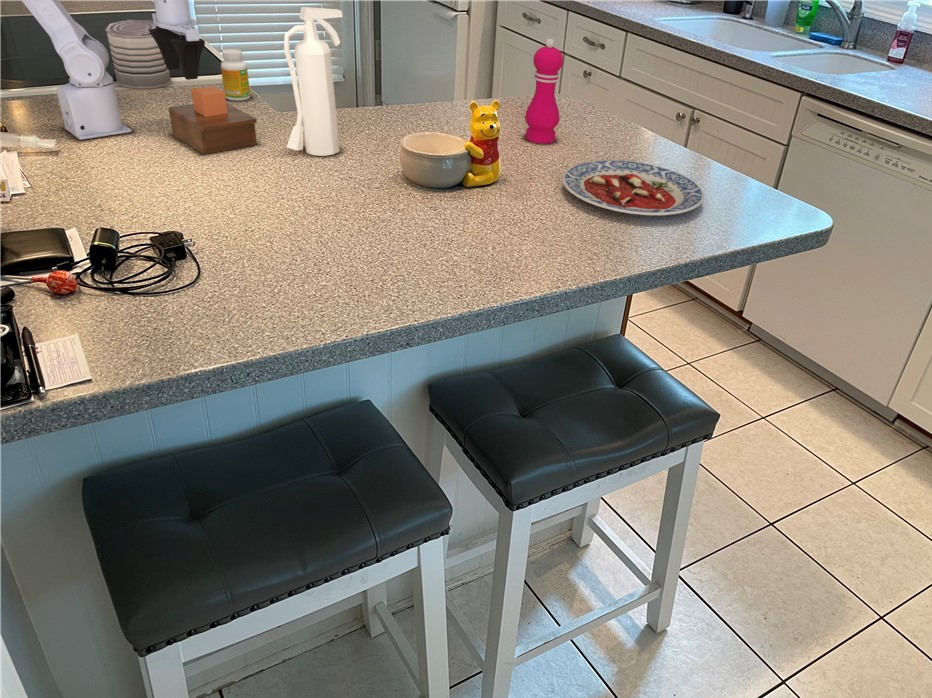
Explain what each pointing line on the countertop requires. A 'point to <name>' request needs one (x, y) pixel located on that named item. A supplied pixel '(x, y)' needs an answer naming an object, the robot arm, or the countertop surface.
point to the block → (209, 101)
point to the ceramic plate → (633, 187)
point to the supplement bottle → (235, 75)
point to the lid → (212, 117)
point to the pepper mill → (544, 95)
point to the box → (213, 136)
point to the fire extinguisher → (314, 84)
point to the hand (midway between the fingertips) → (182, 73)
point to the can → (137, 55)
